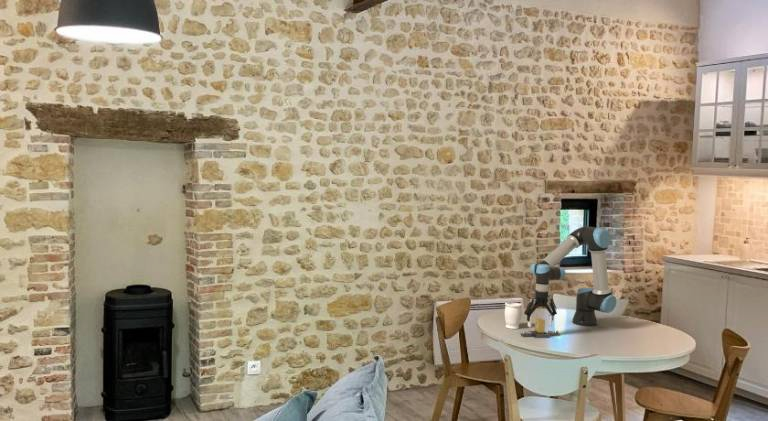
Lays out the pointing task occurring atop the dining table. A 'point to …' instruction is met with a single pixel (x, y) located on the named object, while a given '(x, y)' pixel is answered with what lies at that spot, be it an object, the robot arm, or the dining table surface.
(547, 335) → the knobbed square frame
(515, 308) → the jar
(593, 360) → the dining table surface
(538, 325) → the gold rectangular block
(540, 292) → the robot arm
